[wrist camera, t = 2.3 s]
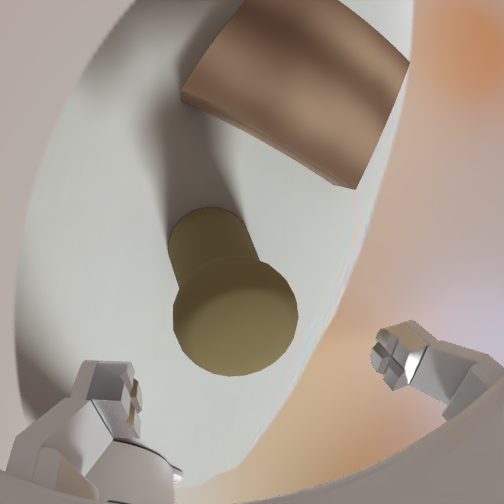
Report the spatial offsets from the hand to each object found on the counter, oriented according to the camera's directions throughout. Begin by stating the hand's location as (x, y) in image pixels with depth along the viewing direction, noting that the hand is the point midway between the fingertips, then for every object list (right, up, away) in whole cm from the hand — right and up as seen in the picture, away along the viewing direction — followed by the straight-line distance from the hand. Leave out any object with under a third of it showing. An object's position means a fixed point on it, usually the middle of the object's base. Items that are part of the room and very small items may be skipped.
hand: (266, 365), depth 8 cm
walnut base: (+3, +17, +9) cm, 19 cm away
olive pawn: (-4, +4, +12) cm, 13 cm away
